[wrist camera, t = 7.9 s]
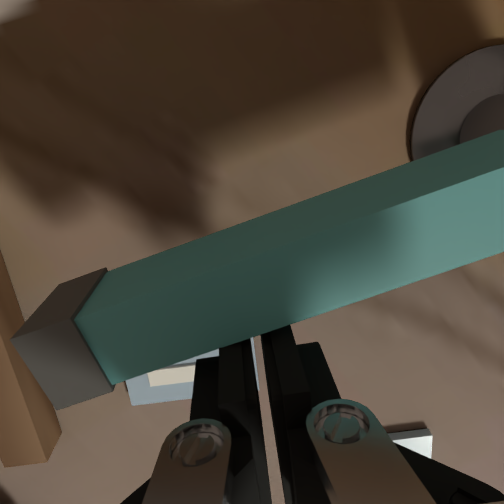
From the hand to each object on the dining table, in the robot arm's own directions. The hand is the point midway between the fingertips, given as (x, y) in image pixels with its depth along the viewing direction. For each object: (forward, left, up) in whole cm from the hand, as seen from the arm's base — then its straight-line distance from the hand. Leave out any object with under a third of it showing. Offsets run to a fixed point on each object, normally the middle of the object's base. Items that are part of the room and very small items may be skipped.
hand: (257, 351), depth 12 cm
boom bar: (-2, -3, -3) cm, 5 cm away
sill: (+9, +1, -4) cm, 10 cm away
